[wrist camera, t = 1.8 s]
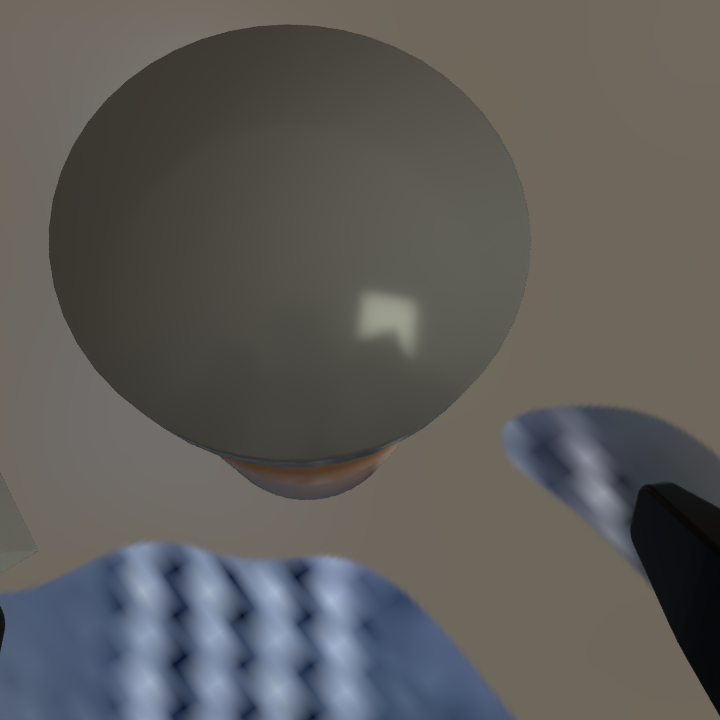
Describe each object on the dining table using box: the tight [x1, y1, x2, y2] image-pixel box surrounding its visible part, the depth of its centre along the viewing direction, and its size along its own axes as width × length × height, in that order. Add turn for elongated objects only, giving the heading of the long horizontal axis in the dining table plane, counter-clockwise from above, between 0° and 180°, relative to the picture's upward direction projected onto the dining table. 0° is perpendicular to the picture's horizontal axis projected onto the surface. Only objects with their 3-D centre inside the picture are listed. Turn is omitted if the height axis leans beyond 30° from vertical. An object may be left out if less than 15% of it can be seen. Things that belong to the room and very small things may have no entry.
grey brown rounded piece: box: [49, 25, 531, 500], centre depth 15 cm, size 7×7×12 cm
